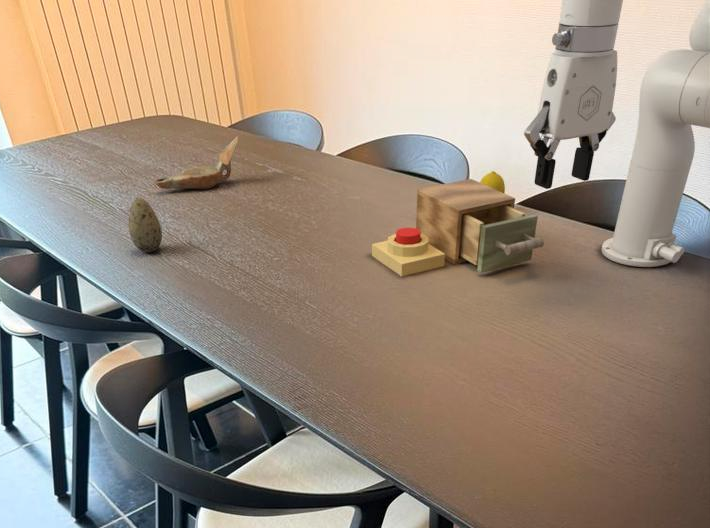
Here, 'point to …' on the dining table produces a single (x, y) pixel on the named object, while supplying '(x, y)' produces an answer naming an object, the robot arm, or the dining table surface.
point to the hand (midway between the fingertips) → (561, 181)
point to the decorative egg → (144, 226)
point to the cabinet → (453, 212)
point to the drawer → (498, 237)
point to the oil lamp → (201, 173)
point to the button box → (408, 256)
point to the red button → (408, 236)
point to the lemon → (494, 181)
